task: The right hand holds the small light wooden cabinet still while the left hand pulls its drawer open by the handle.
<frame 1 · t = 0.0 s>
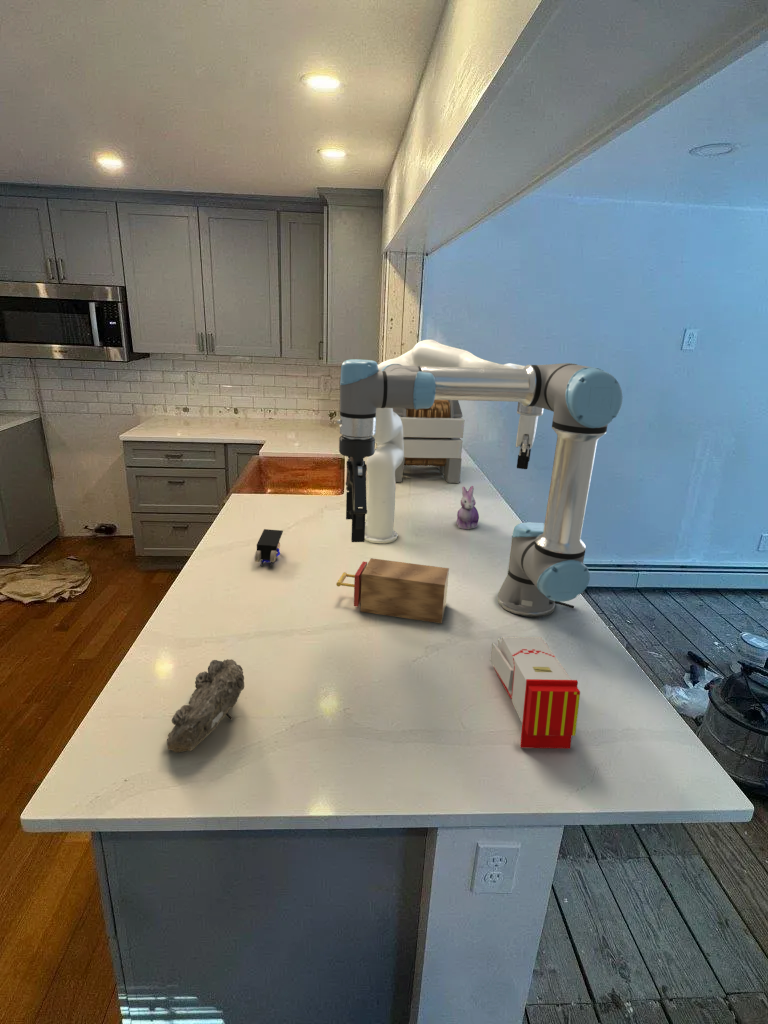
left hand: (523, 464, 174), 31 cm above the counter, tool pointing down, fingers open, 9 cm apart
right hand: (354, 529, 126), 28 cm above the counter, tool pointing down, fingers open, 13 cm apart
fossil: (212, 717, 108), on the counter
cabinet: (403, 608, 151), on the counter
drawer: (385, 587, 150), point 5 cm above the counter, slide at 0.8 cm
figurine: (467, 525, 210), on the counter
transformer: (419, 473, 275), on the counter
figurine character: (269, 559, 175), on the counter
toy: (525, 700, 117), on the counter
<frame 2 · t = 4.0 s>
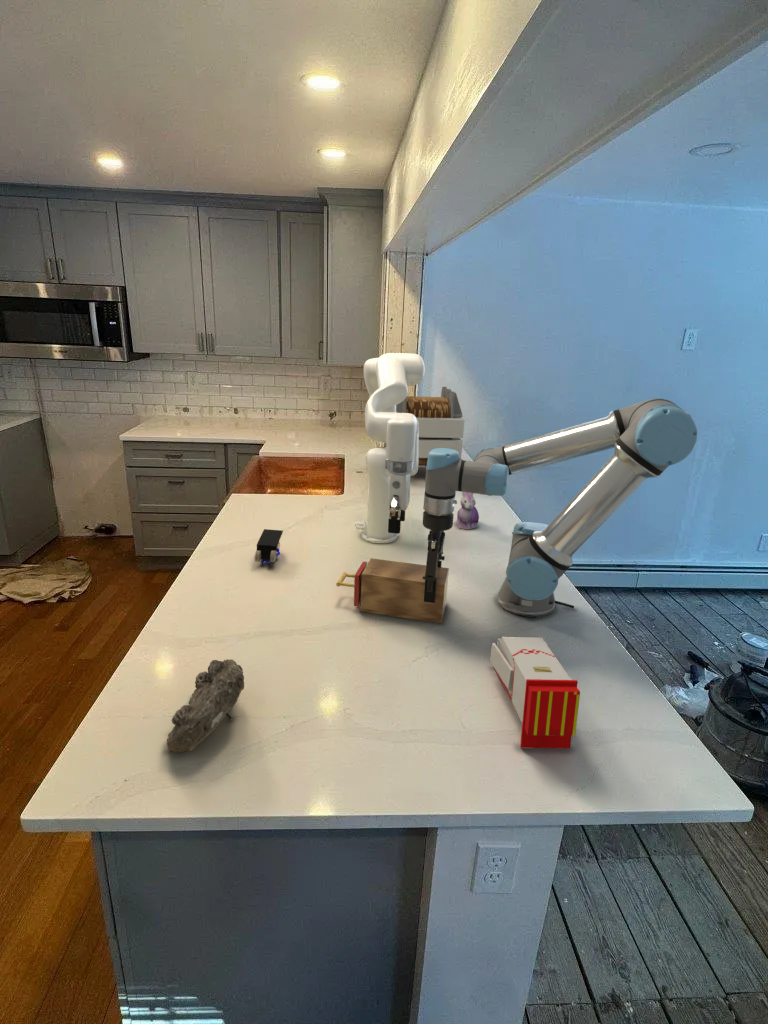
left hand: (396, 526, 154), 19 cm above the counter, tool pointing down, fingers open, 9 cm apart
right hand: (432, 592, 147), 6 cm above the counter, tool pointing down, fingers closed on cabinet, 10 cm apart
cabinet: (403, 608, 151), on the counter, touching right hand
everything else where it was.
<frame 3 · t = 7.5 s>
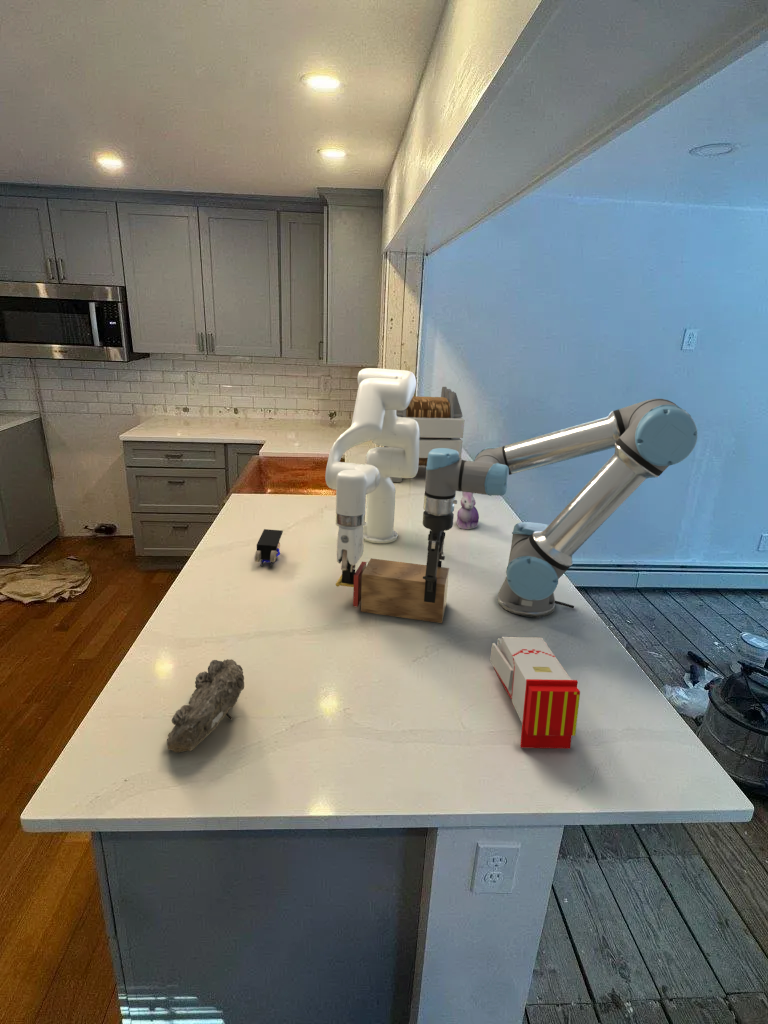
left hand: (348, 583, 151), 5 cm above the counter, tool pointing down, fingers closed
right hand: (432, 591, 147), 6 cm above the counter, tool pointing down, fingers closed on cabinet, 10 cm apart
cabinet: (404, 608, 150), on the counter, touching right hand
everything else where it was.
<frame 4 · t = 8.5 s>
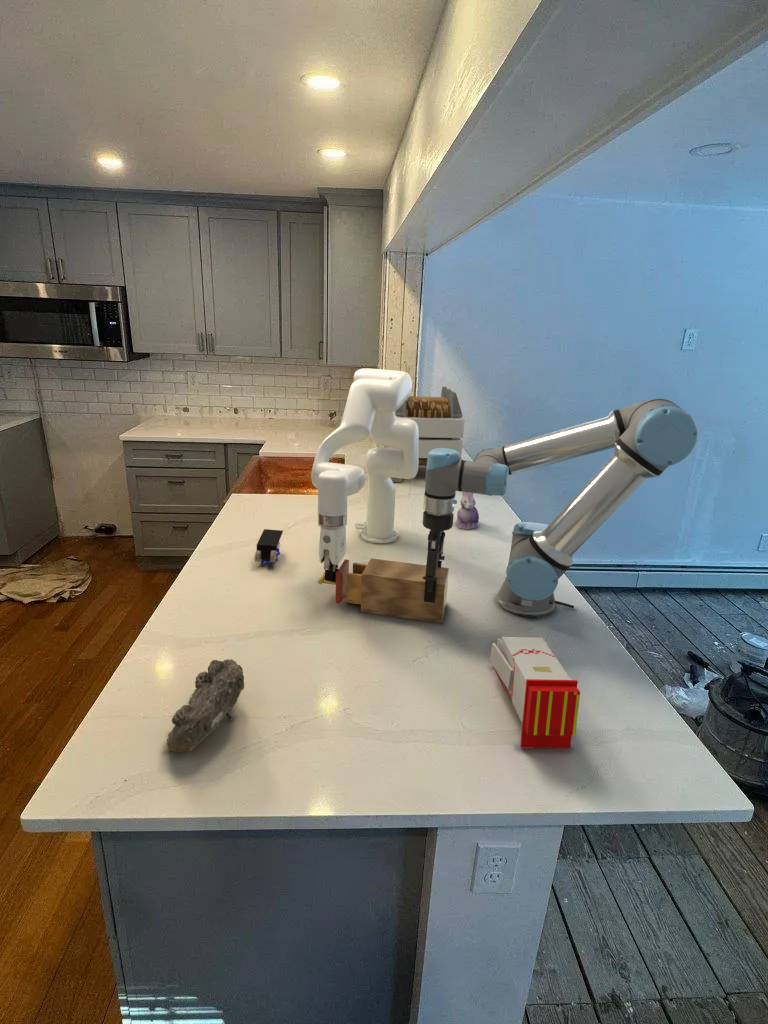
left hand: (331, 582, 152), 5 cm above the counter, tool pointing down, fingers closed
right hand: (432, 591, 147), 6 cm above the counter, tool pointing down, fingers closed on cabinet, 10 cm apart
cabinet: (404, 608, 150), on the counter, touching right hand
drawer: (367, 584, 150), point 5 cm above the counter, slide at 5.8 cm, touching left hand
everything else where it was.
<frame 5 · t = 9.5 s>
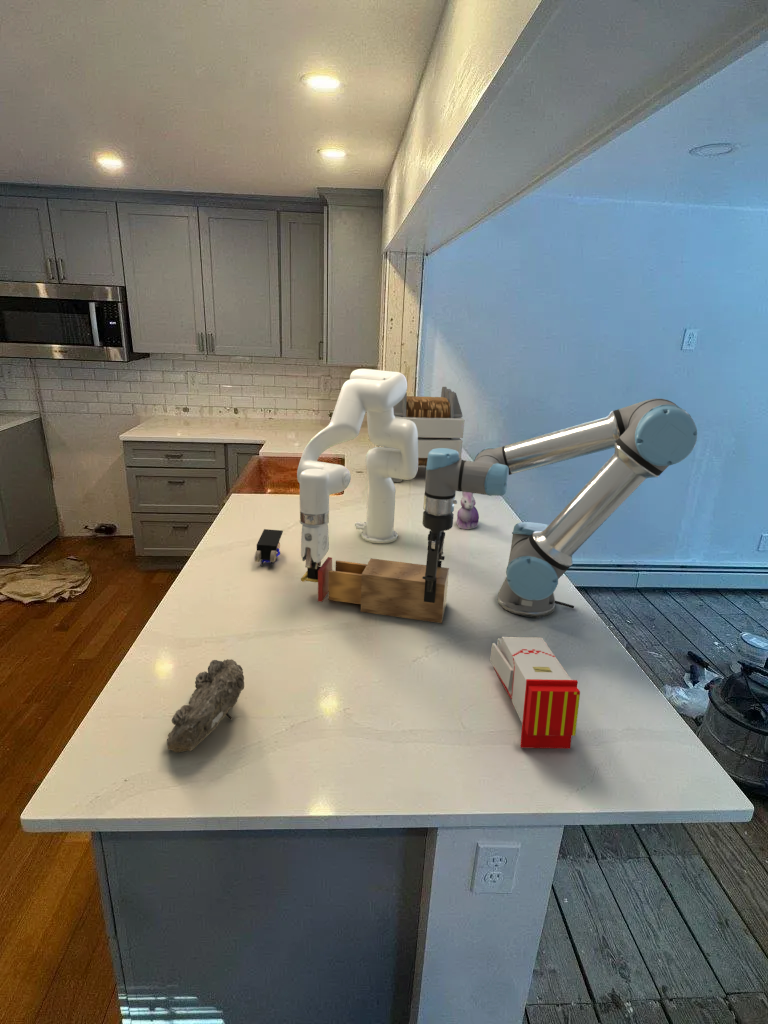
left hand: (314, 580, 153), 5 cm above the counter, tool pointing down, fingers closed
right hand: (432, 591, 147), 6 cm above the counter, tool pointing down, fingers closed on cabinet, 10 cm apart
cabinet: (404, 608, 150), on the counter, touching right hand
drawer: (349, 582, 151), point 5 cm above the counter, slide at 10.6 cm, touching left hand
everything else where it was.
when the right hand's fingers open (6 cm above the counter, at t = 11.1 s): cabinet stays where it is, on the counter.
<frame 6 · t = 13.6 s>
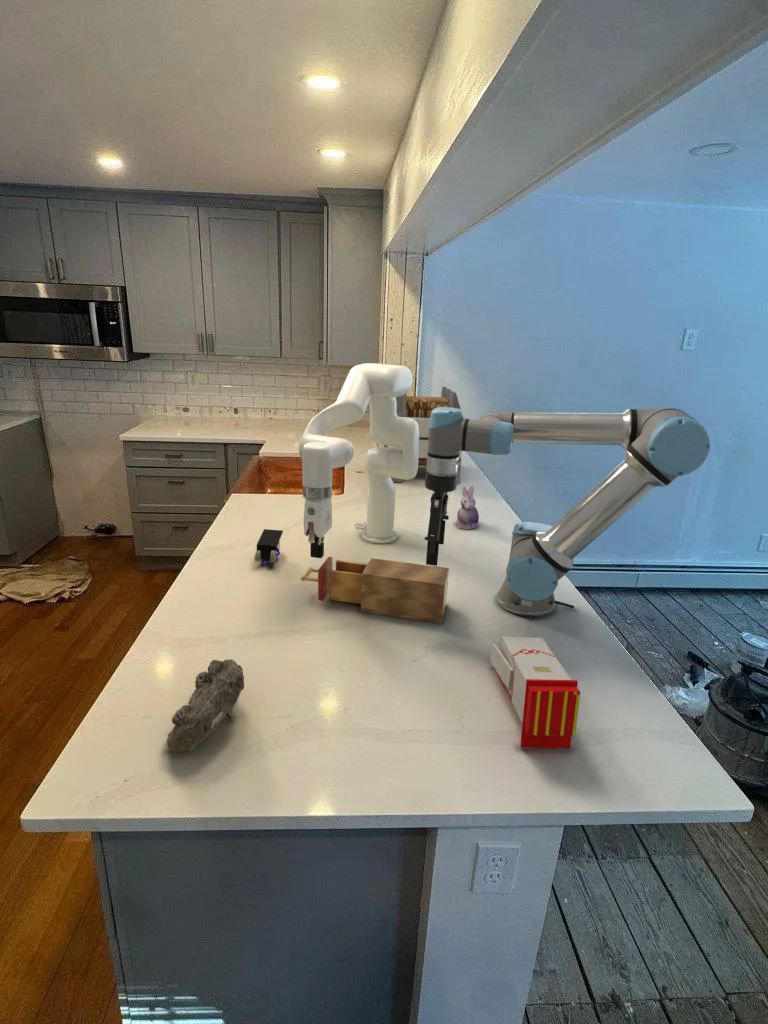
left hand: (317, 556, 151), 12 cm above the counter, tool pointing down, fingers closed
right hand: (435, 553, 144), 17 cm above the counter, tool pointing down, fingers open, 13 cm apart
cabinet: (404, 608, 151), on the counter
drawer: (349, 581, 152), point 5 cm above the counter, slide at 10.6 cm
everything else where it was.
at the end: drawer slide at 10.6 cm; cabinet tilted 0°; cabinet never tilted more than 1° during the clip; cabinet moved 0.1 cm from its start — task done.
